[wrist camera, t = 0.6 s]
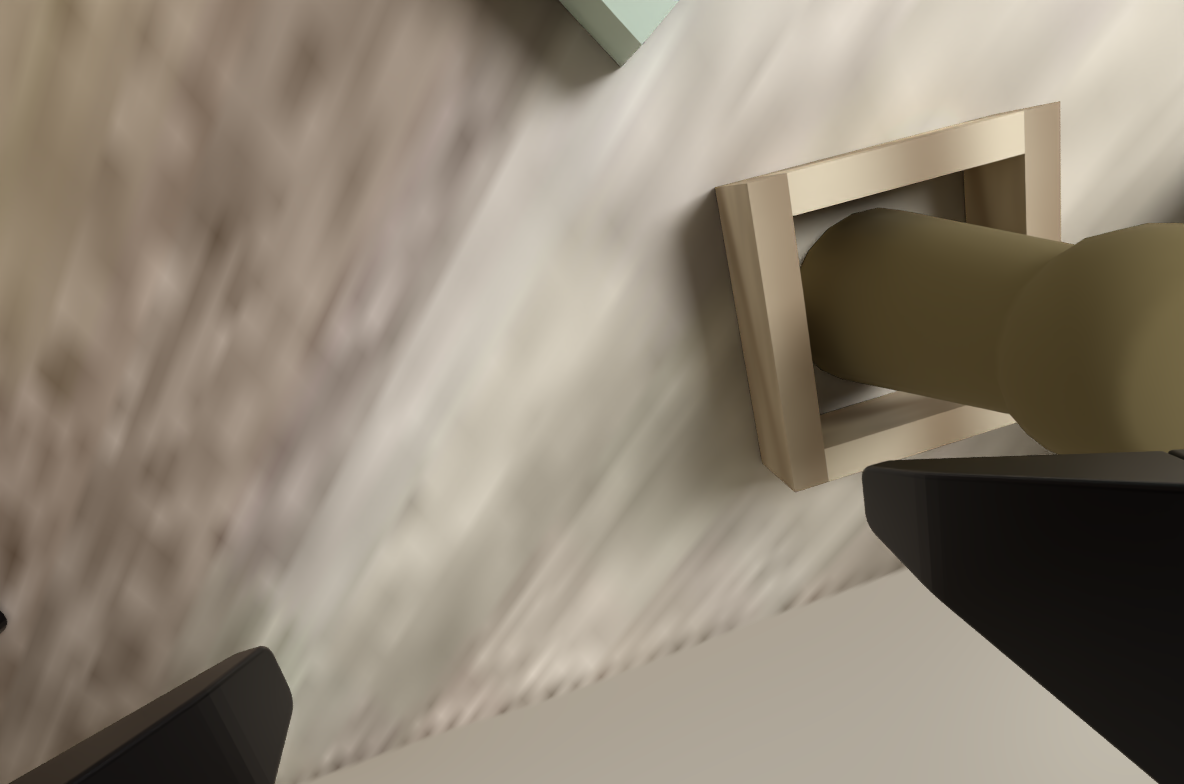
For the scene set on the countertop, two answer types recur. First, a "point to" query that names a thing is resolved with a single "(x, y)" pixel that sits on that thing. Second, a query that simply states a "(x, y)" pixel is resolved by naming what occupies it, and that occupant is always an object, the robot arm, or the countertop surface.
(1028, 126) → the wooden collar
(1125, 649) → the robot arm
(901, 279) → the cork
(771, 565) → the countertop surface
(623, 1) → the sage green tray
